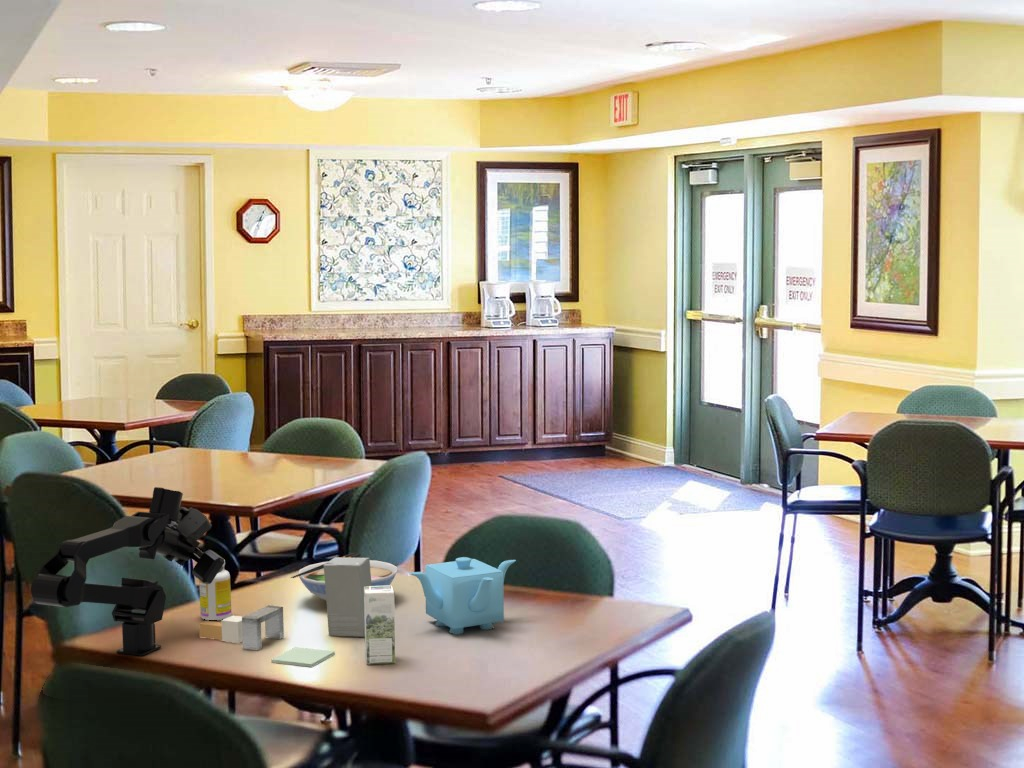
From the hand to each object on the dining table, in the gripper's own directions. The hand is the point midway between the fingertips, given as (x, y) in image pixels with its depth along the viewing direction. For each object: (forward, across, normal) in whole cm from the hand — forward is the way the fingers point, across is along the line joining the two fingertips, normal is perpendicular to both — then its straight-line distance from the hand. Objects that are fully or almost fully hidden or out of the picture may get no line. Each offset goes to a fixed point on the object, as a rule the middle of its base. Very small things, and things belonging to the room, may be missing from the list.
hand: (208, 558), depth 300 cm
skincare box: (+8, -35, -4) cm, 36 cm away
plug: (-4, -17, +11) cm, 20 cm away
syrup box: (-5, -52, -5) cm, 52 cm away
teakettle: (+20, -52, -18) cm, 58 cm away
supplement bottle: (+8, -4, +11) cm, 14 cm away
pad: (-9, -39, +3) cm, 40 cm away
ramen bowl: (+29, -19, -7) cm, 35 cm away
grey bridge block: (-3, -26, +6) cm, 27 cm away
